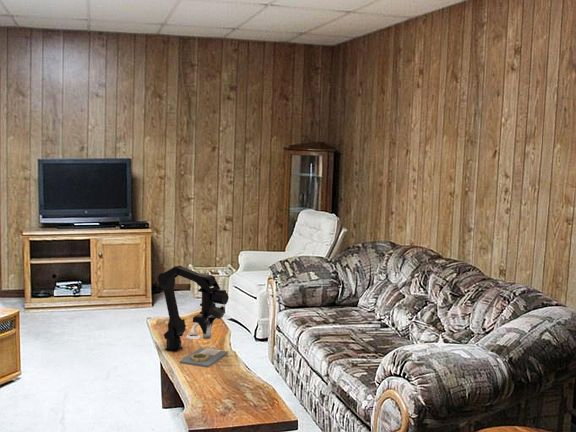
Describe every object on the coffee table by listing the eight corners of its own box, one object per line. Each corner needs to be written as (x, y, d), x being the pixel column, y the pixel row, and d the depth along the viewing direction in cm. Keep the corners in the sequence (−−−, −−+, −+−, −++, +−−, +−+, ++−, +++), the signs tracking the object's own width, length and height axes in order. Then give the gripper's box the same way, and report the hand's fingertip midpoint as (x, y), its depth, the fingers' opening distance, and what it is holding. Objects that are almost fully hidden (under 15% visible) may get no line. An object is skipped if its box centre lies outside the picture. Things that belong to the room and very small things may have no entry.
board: (179, 363, 322) (179, 361, 322) (200, 349, 343) (200, 347, 343) (208, 367, 317) (208, 365, 317) (227, 353, 338) (227, 351, 338)
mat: (199, 353, 334) (199, 352, 334) (206, 348, 341) (206, 348, 341) (214, 355, 331) (214, 355, 331) (220, 350, 339) (221, 350, 339)
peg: (208, 339, 329) (208, 325, 328) (201, 338, 330) (201, 324, 330) (212, 337, 333) (212, 323, 332) (205, 336, 334) (205, 322, 333)
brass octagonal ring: (187, 360, 323) (187, 357, 323) (195, 355, 331) (195, 352, 330) (203, 363, 320) (203, 360, 320) (211, 357, 328) (211, 354, 328)
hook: (208, 330, 358) (197, 323, 356) (195, 347, 361) (184, 340, 359) (209, 323, 365) (198, 317, 363) (196, 340, 368) (185, 333, 366)
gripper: (213, 307, 318) (212, 340, 320) (231, 299, 335) (230, 330, 337) (192, 305, 322) (192, 337, 324) (210, 296, 339) (210, 327, 341)
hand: (207, 332), depth 331 cm, fingers closed on peg, 4 cm apart
